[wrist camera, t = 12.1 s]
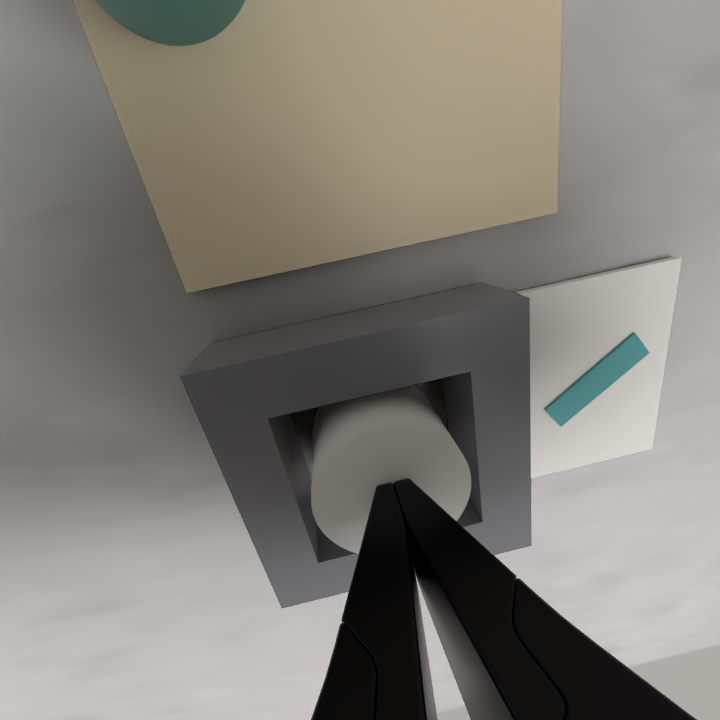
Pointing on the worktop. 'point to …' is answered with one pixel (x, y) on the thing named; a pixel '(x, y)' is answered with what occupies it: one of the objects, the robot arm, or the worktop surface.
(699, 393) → the worktop surface
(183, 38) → the teal grey-topped cylinder
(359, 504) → the button
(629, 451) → the card
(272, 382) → the button housing
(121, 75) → the paper pad
